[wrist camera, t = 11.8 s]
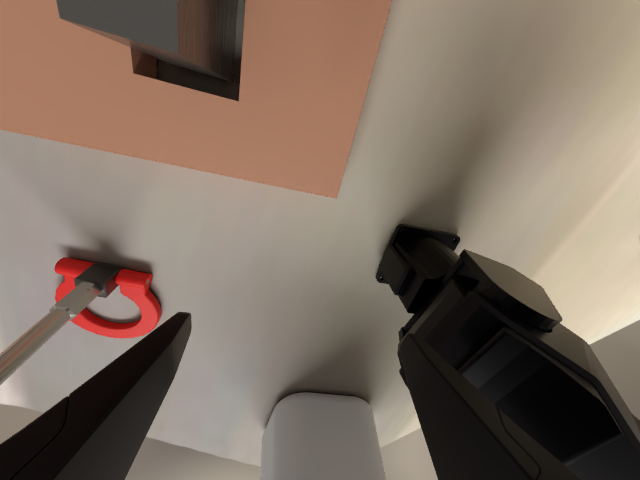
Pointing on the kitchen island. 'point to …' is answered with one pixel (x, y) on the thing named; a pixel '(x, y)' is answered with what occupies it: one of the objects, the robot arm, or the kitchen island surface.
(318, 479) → the plastic bottle
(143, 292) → the tow hook
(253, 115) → the tan flat board
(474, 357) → the robot arm
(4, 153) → the kitchen island surface
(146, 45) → the dark gray brick
